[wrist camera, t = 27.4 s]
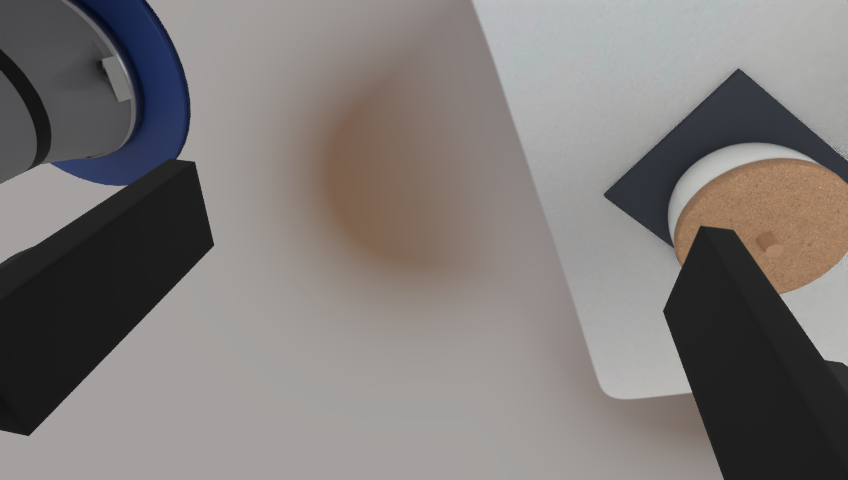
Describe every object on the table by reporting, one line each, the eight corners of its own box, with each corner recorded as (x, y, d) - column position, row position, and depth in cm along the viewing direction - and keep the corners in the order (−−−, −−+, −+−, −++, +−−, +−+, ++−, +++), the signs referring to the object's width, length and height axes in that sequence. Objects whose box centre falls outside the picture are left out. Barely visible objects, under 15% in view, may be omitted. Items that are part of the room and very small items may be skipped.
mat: (603, 194, 41) (604, 196, 41) (738, 68, 34) (740, 69, 34) (711, 274, 44) (713, 277, 43) (858, 171, 37) (862, 174, 36)
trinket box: (750, 256, 42) (801, 332, 34) (630, 222, 42) (653, 288, 34) (837, 144, 35) (923, 204, 28) (696, 104, 36) (742, 153, 28)
